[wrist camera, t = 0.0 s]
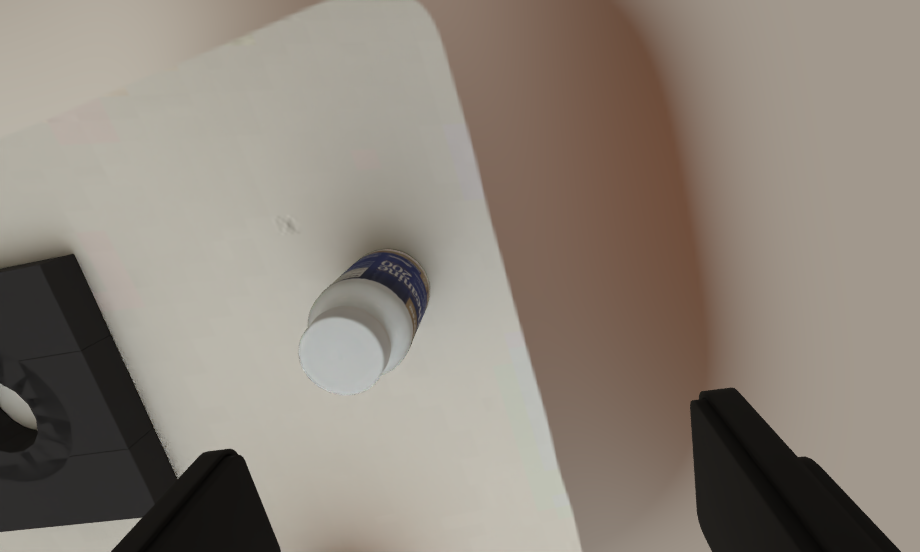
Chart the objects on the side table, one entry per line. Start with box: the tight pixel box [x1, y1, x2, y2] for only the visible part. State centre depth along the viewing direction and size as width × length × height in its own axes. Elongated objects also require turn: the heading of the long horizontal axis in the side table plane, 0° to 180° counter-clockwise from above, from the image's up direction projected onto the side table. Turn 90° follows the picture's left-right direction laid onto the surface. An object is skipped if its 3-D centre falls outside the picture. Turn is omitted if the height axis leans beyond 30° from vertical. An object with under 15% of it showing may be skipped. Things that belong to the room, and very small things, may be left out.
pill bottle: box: [299, 249, 430, 395], centre depth 25 cm, size 5×5×10 cm
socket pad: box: [0, 254, 177, 532], centre depth 34 cm, size 20×16×2 cm
